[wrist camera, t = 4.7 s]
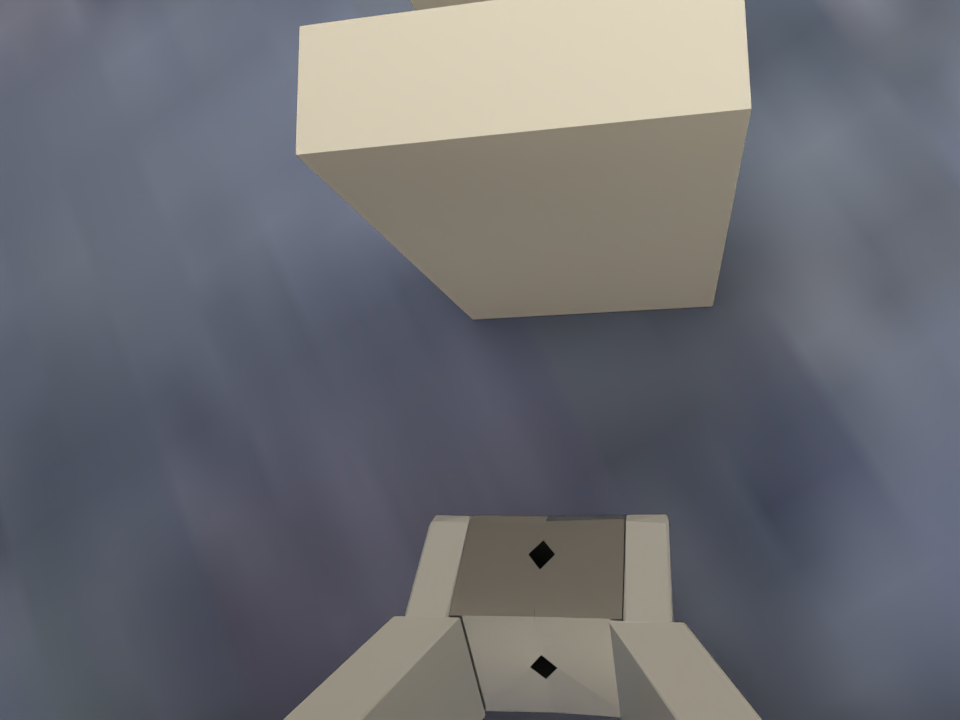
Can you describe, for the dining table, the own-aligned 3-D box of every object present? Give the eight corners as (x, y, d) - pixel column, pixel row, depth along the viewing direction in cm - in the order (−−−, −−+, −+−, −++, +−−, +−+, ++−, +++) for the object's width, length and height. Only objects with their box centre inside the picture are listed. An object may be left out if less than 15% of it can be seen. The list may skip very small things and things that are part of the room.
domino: (712, 306, 17) (750, 109, 9) (472, 320, 19) (296, 154, 10) (708, 230, 18) (742, -35, 9) (472, 247, 19) (299, 25, 10)
